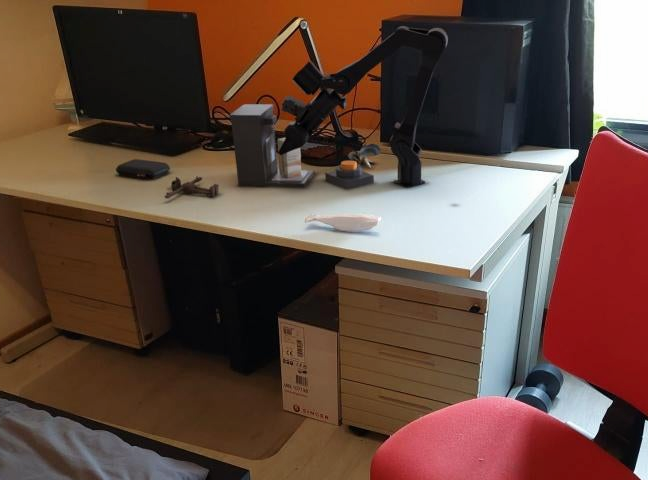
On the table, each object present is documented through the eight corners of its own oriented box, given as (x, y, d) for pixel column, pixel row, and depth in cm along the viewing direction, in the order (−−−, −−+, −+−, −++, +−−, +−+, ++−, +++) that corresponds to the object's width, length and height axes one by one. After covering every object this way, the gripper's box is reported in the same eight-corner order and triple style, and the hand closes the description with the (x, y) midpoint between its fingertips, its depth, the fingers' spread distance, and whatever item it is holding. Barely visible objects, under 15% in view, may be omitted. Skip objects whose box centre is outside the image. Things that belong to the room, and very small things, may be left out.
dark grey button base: (373, 183, 200) (373, 168, 197) (347, 189, 195) (347, 175, 193) (351, 174, 207) (350, 160, 205) (325, 180, 203) (324, 166, 201)
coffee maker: (314, 173, 209) (310, 104, 198) (304, 188, 197) (299, 115, 187) (251, 172, 212) (244, 104, 201) (237, 186, 200) (229, 115, 190)
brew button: (360, 169, 199) (359, 162, 198) (347, 172, 197) (346, 165, 196) (350, 165, 202) (350, 159, 201) (338, 168, 200) (337, 162, 199)
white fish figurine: (376, 237, 165) (375, 220, 163) (304, 230, 170) (302, 213, 168) (383, 229, 169) (383, 212, 167) (312, 222, 174) (311, 206, 172)
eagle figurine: (372, 168, 207) (386, 155, 213) (358, 147, 205) (373, 134, 211) (355, 179, 213) (369, 166, 218) (341, 158, 211) (356, 145, 216)
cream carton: (287, 178, 200) (285, 141, 195) (279, 175, 203) (276, 139, 198) (302, 174, 203) (300, 138, 197) (294, 171, 206) (291, 135, 200)
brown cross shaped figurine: (197, 195, 185) (149, 184, 189) (198, 210, 187) (151, 200, 191) (231, 175, 199) (186, 166, 203) (232, 190, 201) (187, 181, 205)
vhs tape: (335, 153, 227) (335, 146, 226) (321, 159, 222) (320, 152, 221) (300, 147, 234) (300, 141, 233) (285, 153, 229) (284, 146, 228)
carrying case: (111, 176, 212) (150, 182, 206) (109, 166, 210) (148, 171, 204) (135, 167, 220) (173, 172, 214) (133, 157, 218) (172, 161, 212)
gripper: (305, 79, 197) (270, 120, 205) (289, 92, 182) (252, 136, 190) (335, 109, 200) (299, 148, 208) (321, 125, 185) (283, 167, 193)
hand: (283, 149), depth 199 cm, fingers open, 9 cm apart
